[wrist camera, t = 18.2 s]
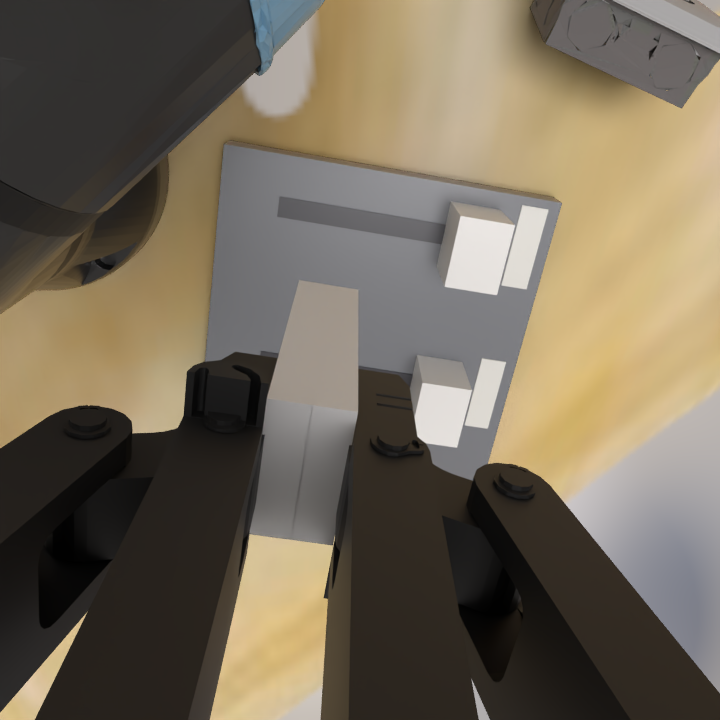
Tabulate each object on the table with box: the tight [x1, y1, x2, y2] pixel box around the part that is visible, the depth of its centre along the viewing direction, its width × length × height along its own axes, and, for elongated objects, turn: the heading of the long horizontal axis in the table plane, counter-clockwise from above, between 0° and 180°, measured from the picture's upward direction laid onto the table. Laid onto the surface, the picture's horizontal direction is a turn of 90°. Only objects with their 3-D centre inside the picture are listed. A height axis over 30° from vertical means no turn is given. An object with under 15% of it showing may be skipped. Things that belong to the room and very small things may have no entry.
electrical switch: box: [530, 0, 720, 108], centre depth 34 cm, size 9×5×9 cm, turn 68°
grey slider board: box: [205, 140, 562, 481], centre depth 44 cm, size 20×26×6 cm
